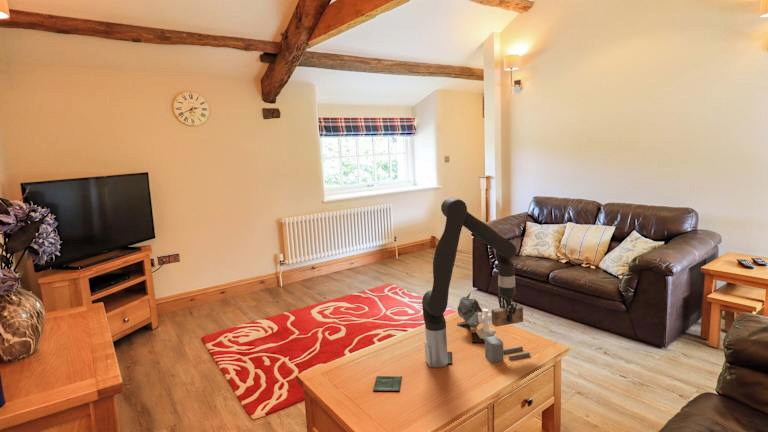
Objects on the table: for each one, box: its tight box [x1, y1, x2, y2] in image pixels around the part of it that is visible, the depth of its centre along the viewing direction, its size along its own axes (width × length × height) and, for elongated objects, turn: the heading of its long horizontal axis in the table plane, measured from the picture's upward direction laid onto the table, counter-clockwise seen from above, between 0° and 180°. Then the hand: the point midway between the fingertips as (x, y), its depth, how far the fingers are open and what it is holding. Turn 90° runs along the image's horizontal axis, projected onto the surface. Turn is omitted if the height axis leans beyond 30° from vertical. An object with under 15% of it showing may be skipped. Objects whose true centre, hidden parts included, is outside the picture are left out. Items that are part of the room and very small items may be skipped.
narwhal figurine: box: [456, 291, 482, 333], centre depth 223 cm, size 14×15×18 cm
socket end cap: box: [484, 335, 504, 364], centre depth 192 cm, size 6×7×9 cm
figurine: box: [475, 307, 497, 341], centre depth 212 cm, size 7×9×15 cm
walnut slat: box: [491, 304, 524, 328], centre depth 196 cm, size 14×3×7 cm, turn 103°
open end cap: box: [503, 345, 531, 361], centre depth 195 cm, size 10×7×2 cm
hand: (507, 319), depth 197 cm, fingers closed on walnut slat, 3 cm apart
